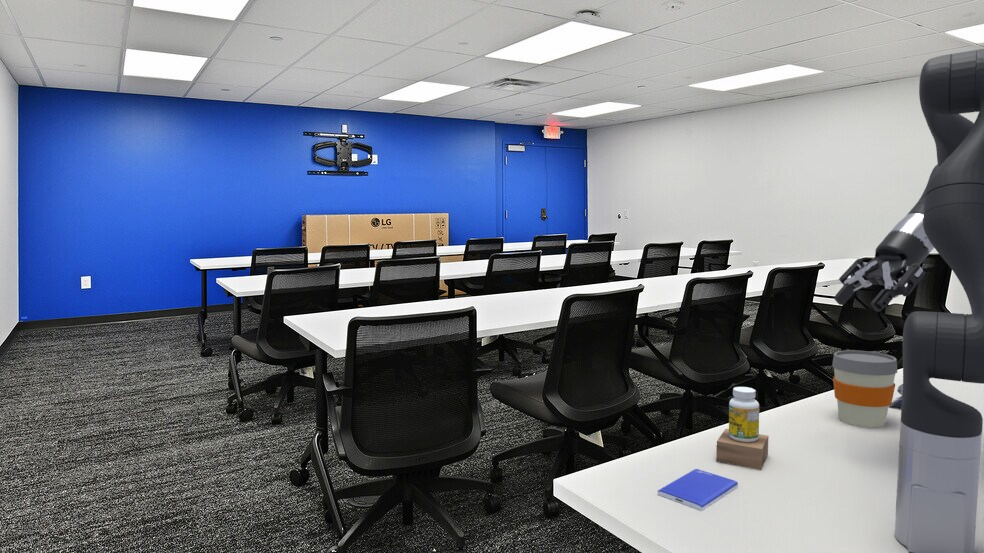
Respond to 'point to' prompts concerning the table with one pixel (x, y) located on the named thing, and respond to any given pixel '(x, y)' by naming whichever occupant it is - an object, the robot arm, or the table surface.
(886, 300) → the robot arm
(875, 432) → the table surface
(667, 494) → the hard drive
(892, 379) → the reusable coffee cup
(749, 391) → the supplement bottle
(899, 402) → the snack package
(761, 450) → the walnut base block
